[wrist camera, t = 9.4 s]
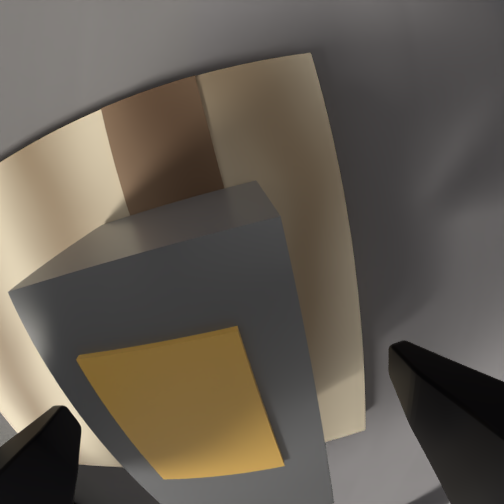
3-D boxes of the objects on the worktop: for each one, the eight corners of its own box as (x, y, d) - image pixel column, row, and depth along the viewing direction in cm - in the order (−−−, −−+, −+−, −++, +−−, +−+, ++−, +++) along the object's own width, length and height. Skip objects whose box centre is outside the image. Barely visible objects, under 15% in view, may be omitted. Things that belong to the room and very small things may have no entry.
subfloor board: (46, 449, 15) (40, 460, 14) (-77, 226, 9) (-90, 232, 8) (359, 416, 14) (365, 431, 13) (303, 60, 9) (311, 51, 8)
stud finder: (192, 424, 12) (182, 526, 7) (101, 225, 9) (3, 295, 4) (307, 402, 12) (335, 506, 7) (256, 180, 9) (282, 218, 4)
